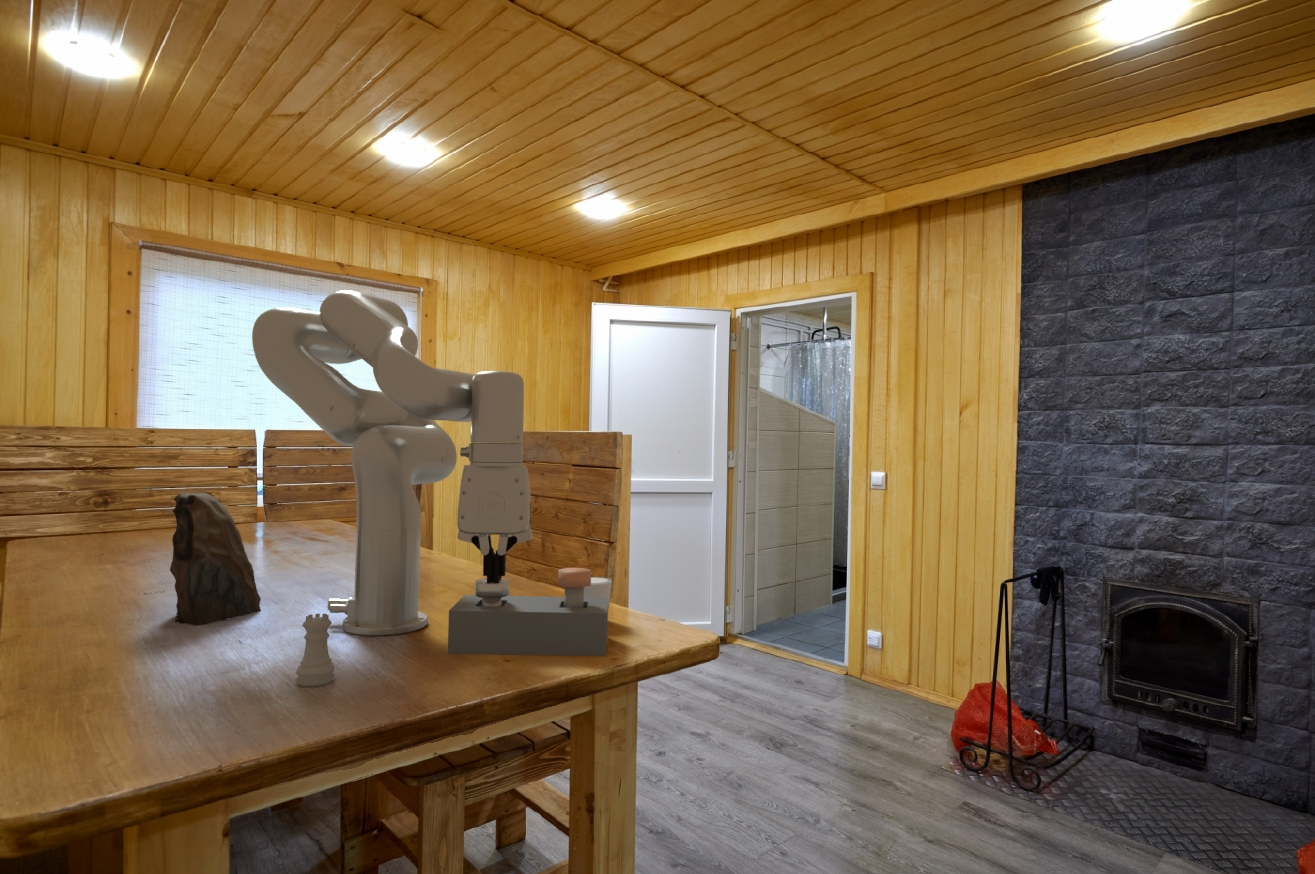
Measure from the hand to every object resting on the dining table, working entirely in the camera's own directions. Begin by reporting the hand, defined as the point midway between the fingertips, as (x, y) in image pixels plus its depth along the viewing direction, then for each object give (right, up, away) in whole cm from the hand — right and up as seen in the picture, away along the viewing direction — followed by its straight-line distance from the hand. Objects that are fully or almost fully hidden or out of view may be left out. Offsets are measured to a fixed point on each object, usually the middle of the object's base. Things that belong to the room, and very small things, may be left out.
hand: (494, 580), depth 105 cm
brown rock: (-48, -8, +12) cm, 50 cm away
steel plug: (-1, -8, 0) cm, 8 cm away
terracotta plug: (+12, -6, +1) cm, 13 cm away
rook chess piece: (-18, -9, -18) cm, 27 cm away
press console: (+5, -9, 0) cm, 11 cm away
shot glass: (+13, -10, +15) cm, 22 cm away
